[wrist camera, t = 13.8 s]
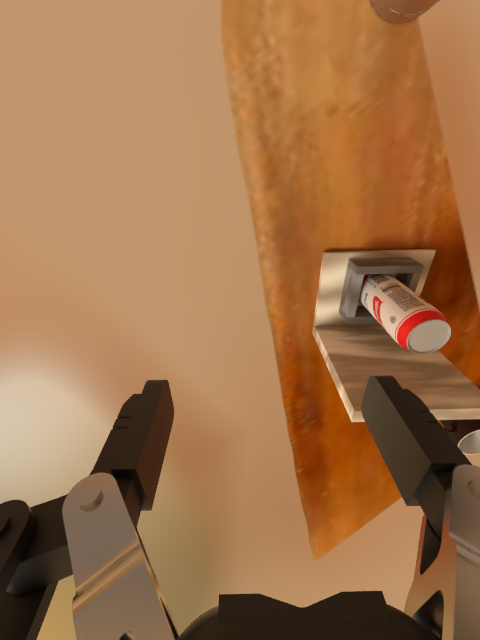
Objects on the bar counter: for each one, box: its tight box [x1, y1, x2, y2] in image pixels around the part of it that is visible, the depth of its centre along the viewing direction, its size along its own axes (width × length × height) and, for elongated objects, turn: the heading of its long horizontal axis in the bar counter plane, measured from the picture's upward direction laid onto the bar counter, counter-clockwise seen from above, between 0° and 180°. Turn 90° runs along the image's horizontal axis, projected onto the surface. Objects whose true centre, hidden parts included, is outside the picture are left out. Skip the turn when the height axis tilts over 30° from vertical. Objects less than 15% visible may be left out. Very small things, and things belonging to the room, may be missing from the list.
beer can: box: [359, 274, 451, 354], centre depth 40 cm, size 6×6×16 cm
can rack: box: [312, 249, 480, 422], centre depth 40 cm, size 16×18×21 cm
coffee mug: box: [440, 419, 480, 455], centre depth 58 cm, size 12×9×10 cm
